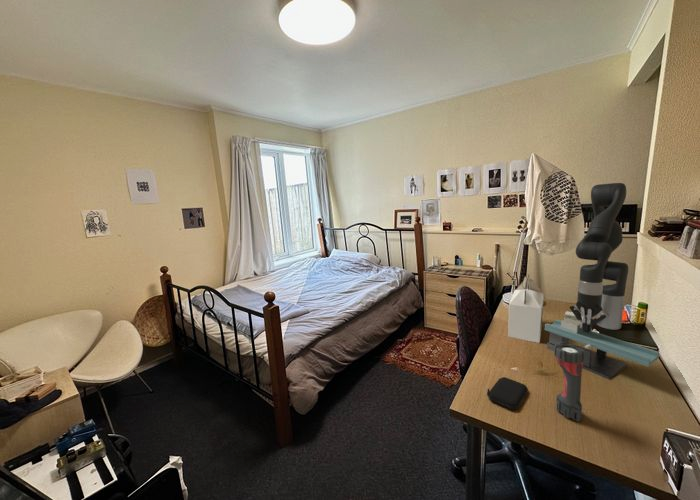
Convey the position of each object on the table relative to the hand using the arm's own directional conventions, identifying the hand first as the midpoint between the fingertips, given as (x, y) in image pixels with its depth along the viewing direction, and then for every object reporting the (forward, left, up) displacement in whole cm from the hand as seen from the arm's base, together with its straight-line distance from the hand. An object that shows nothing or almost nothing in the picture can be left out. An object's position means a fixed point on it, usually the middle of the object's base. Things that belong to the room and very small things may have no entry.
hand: (586, 331), depth 118 cm
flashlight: (+37, +11, -13) cm, 41 cm away
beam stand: (0, -1, -13) cm, 13 cm away
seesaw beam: (0, +3, -10) cm, 10 cm away
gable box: (-5, -28, -13) cm, 31 cm away
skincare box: (-15, -12, -13) cm, 23 cm away
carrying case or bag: (+45, -4, -13) cm, 47 cm away
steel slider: (+1, -5, -3) cm, 6 cm away
